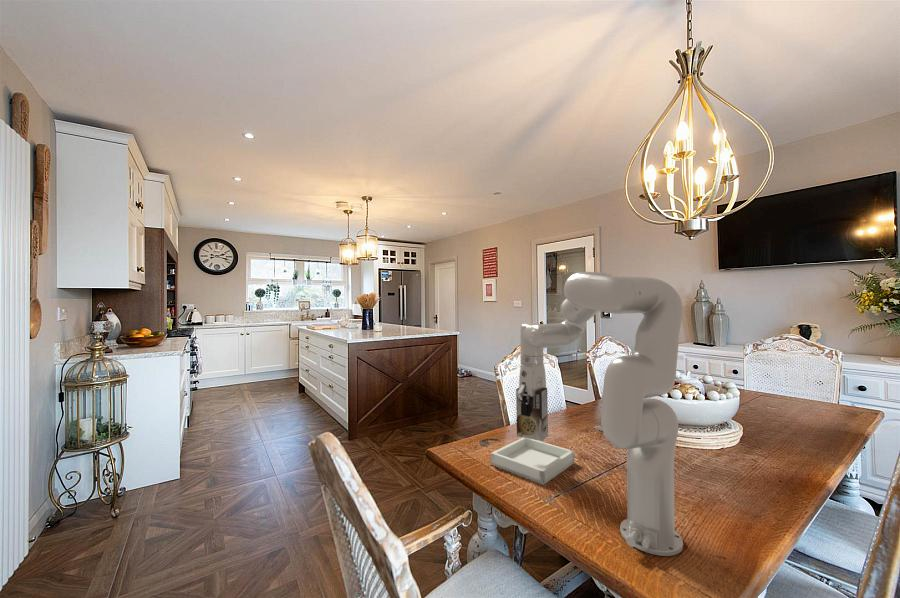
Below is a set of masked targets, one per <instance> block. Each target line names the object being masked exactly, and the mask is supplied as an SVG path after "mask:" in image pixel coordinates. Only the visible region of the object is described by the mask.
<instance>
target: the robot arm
mask: <svg viewBox="0 0 900 598" xmlns="http://www.w3.org/2000/svg"><path fill="white" fill-rule="evenodd" d="M563 294H564V297H565V299H564V300H563V301H562V303H561V305H560V306H561V312H562V314H563V316H564V318H565V319H564V321H562V322H560V323H556V322H555V323H537V322H526V323H523V324H521V326H520V332H519V333H520V342H519V343H520V345H519V346H520V369H519V381H518V388H519V391H518V392H517V396H518V398H519V400H520V403H521V415H524V416H527V417H529V416H530V404H529V401H530V398H531V397H534V396H535V391H538V390H540V389H542V388H547V380H546V379H547V378H546V369H545V363H544V349H549V348H550V349H551V348H560V347H561V348H562V347H566V346H569V345H570V344H573V343H574V342H575V341H576V340H578V339H579V338H580V337H582V335H583V334H584V332H585V330H586V327H587V322H588V321H589V320H590V319H592V318H593V317H594V316H595V315H596V314H598V313H600V312H603V313H606V314H607V313H608V314H613V315H614V314H615V315H616V314H617V315H618V314H619V315H620V314H642V315H643V318H642V320H641V321H640V323H639V325H638V327H637V329H636V332H635V333H636V334H635V340H634V341H635V343H634V349H633V353H632V354H629V355H623V356H622V355H621V356H619V357H616V358H615V359H613V360H612V361H611V362H610V363H608V366H607V368H606V369H605V373H604V377H603V387H602V398H601V399H602V402H601V414H600V415H601V416H600V417H601V418H600V419H601V423H600V424H601V427H602V429H603V431H602V432H603V434H604V437H605V438H606V439H607V442H608V443H610V444H611V446H613V447H615V448H618V449H620V450H627V454H626V496H627V497H626V505H627V508H626V510H627V511H626V515H627V516H626V517H627V518H626V519H624V520H622V521H621V523H620V525H619V527H620V528H619V532H620V535H621V536H622V538H623V539H624V540H625V543H626V544H627V545H628V546H629V547H631V548H636V549H637V550H640V551H642V552H644V553H647V554H650V555H655V556H661V557H672V556H675V555H679V554H680V553H681V552H682V551H683V549H684V542H683V539H682V536H681V535H680V534H679V532H677V531H676V530H675V452H676V444H677V440H678V435H679V420H678V417H677V415H676V413H675V411H674V409H673V408H672V406H670V405H669V404H668V403H667V402H665V401H663V400H661V399H657V398H655V397H660V396H662V395H666V394H668V393H670V392H671V391H672V390H673V389H674V387H675V382H676V377H677V376H676V375H677V366H678V356H679V341H680V332H681V327H682V320H683V312H684V311H683V302H682V299H681V297H680V295H679V293H678V292H677V290H676V289H675V288H674V287H673V286H672V285H670V284H669V283H668V282H666V281H665V280H661V279H658V278H654V277H646V276H617V275H615V276H614V275H611V274H609V273H607V272H602V271H600V272H599V271H596V272H595V271H578V272H574V273H573V274H571V275H570V276H569V277H568V278H567V280H566V281H565V283H564V287H563ZM524 391H525V392H527V394H524ZM524 396H526V397H527V400H526V398H525V397H524ZM653 397H654V398H653Z"/></svg>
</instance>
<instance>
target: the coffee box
mask: <svg viewBox="0 0 900 598" xmlns="http://www.w3.org/2000/svg"><path fill="white" fill-rule="evenodd" d="M518 391H519V387H518V388H516V389H515V399H516V400H515V401H516V403H515V404H516V406H515V408H516V410H515V411H516V437H519V438H528V439H533V440H538V441H541V442H543V441H544V440H545V439H546V438H547V437H548V436H549V427H548V426H549V425H548V424H549V421H548V420H549V419H548V417H549V416H548V415H549V411H548V409H549V408H548V387H546V388H542V389H540V390H538V391H535V396H534V397H531V398H530V401H529V404H530V416H529V417H527V416H524V415H521V403H520V400H519V398H518V396H517V392H518ZM524 394H527V392H525V391H524ZM524 397H525V398H526V400H527V397H526V396H524Z"/></svg>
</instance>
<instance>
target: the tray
mask: <svg viewBox="0 0 900 598" xmlns="http://www.w3.org/2000/svg"><path fill="white" fill-rule="evenodd" d="M574 464H575V451H574V450H572V449H568V448H565V447H562V446H557V445H554V444H551V443H548V442H543V441H539V440H533V439H528V438H523V437H520V438H519V439H517V440H515V441H513V442H511V443H508V444H507V445H504V446H503V447H501V448H499V449H496V450H494V451H493V452H490V466H492V465H493V466H492V467H495V466H496V467H495V468H497V467H498V468H497V469H500V470H502V469H503V470H502V471H505V470H506V472H508V471H509V472H508V473H510V472H511V473H510V474H513V473H514V474H513V475H515V474H516V475H515V476H517V477H521V478H523V477H524V479H526V480H528V479H529V481H531V482H534V483H537V484H538V485H542V486H544V485H545V484H547V483H548V482H550V481H551V480H552V479H554V478H556V477H557V476H559V474H561V473H563V472H564V471H565V470H567V469H568V468H569V467H571V466H572V465H574Z"/></svg>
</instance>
